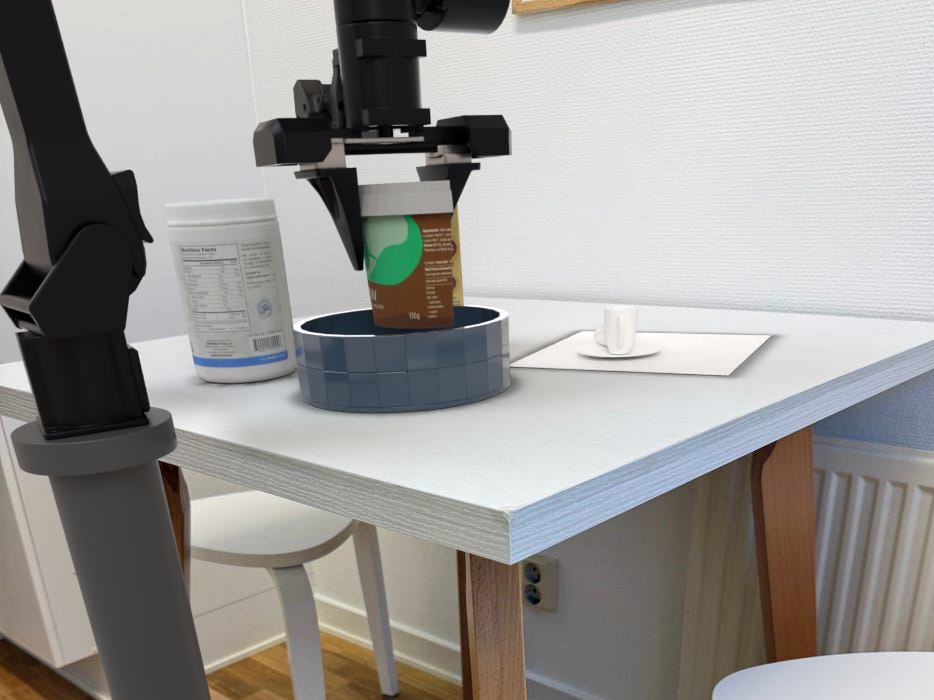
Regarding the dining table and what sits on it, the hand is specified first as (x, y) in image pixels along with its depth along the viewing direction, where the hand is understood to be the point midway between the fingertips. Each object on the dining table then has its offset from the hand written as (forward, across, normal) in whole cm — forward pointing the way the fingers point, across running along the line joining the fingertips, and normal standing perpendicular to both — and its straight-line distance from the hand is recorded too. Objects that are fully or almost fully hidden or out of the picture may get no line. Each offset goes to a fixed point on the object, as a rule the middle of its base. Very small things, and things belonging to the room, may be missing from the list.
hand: (396, 267), depth 69 cm
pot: (+9, 0, 0) cm, 9 cm away
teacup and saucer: (+10, -25, 0) cm, 27 cm away
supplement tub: (+10, +9, -16) cm, 21 cm away
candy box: (+10, -10, -13) cm, 19 cm away
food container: (+4, 0, 0) cm, 4 cm away
